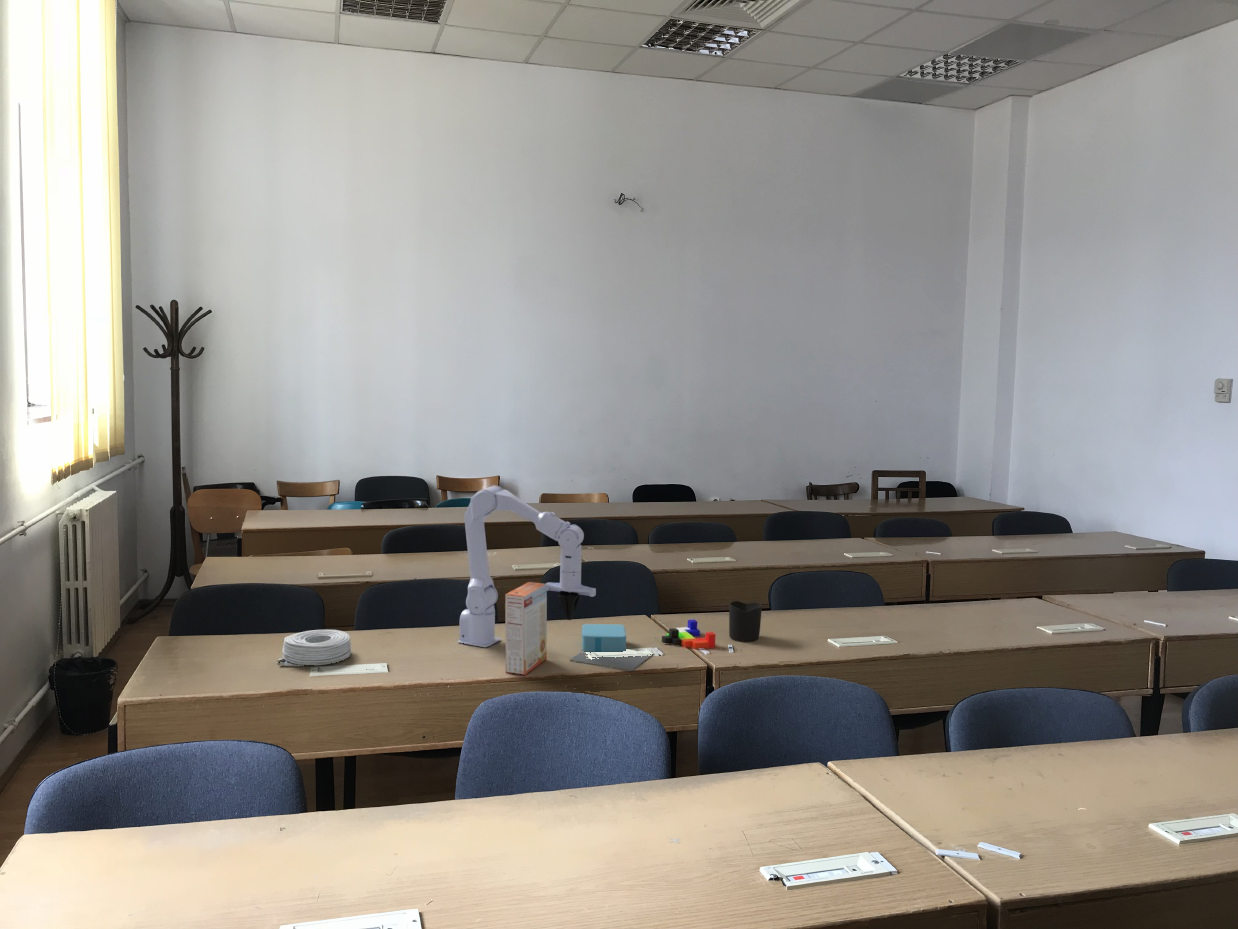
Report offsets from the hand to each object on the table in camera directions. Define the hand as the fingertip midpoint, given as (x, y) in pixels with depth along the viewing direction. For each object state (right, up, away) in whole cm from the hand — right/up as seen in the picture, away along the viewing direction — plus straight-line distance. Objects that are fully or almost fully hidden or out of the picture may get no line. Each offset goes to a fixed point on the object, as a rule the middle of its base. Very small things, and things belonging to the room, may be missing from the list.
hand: (569, 618), depth 260 cm
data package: (+3, -6, +4) cm, 8 cm away
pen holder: (+50, -8, +16) cm, 53 cm away
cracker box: (-11, -11, -13) cm, 20 cm away
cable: (-66, -9, -9) cm, 68 cm away
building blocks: (+32, -9, +12) cm, 35 cm away
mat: (+12, -10, -4) cm, 16 cm away
